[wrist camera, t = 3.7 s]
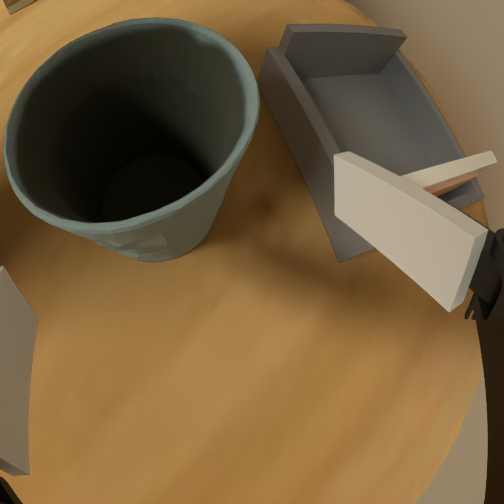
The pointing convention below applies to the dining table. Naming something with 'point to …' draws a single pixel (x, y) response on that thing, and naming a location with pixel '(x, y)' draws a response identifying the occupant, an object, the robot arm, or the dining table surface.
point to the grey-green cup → (133, 135)
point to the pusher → (451, 173)
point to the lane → (355, 113)
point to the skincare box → (16, 4)
